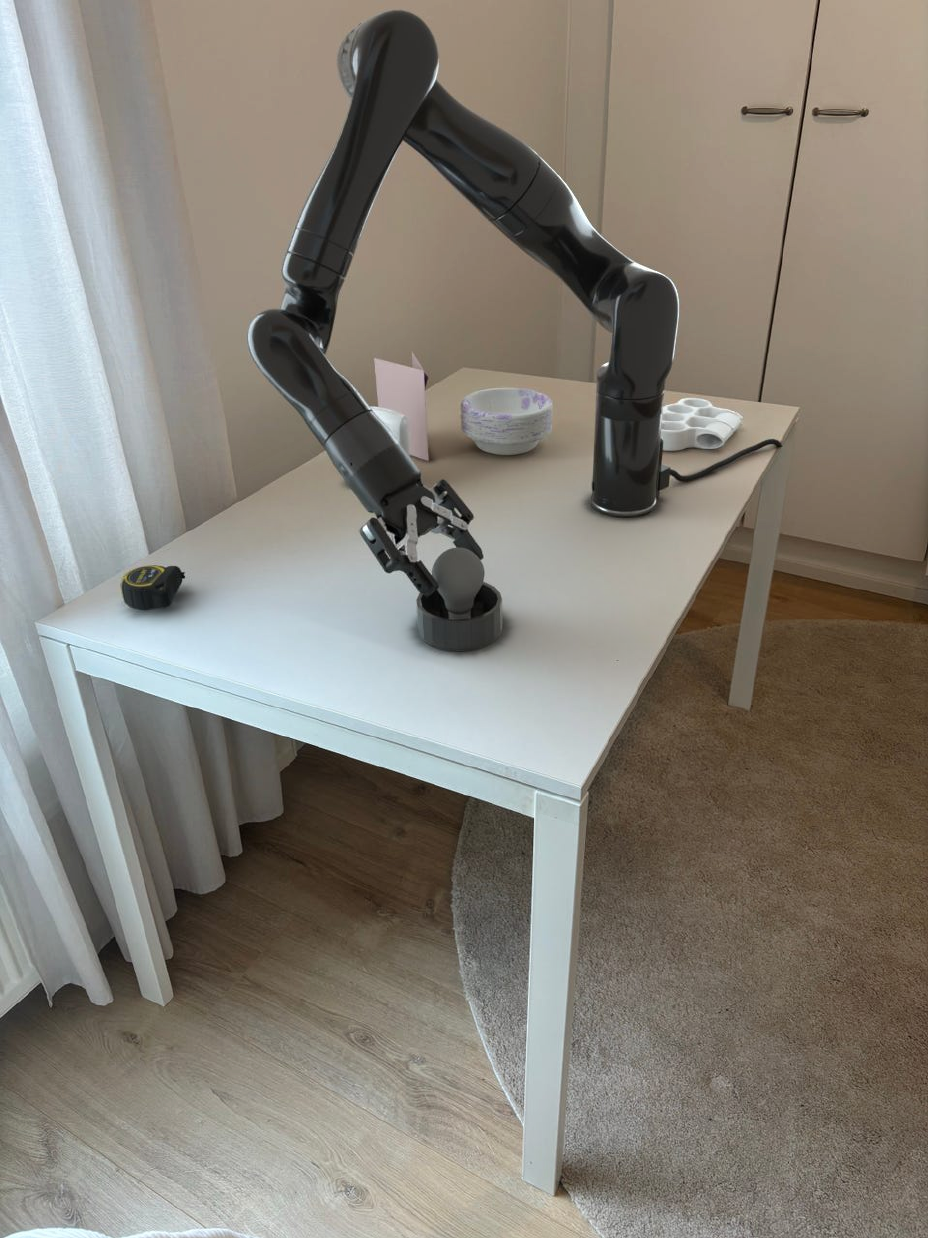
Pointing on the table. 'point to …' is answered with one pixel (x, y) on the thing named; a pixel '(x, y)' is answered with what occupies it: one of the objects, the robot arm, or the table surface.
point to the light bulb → (458, 580)
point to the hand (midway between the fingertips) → (456, 576)
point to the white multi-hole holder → (697, 425)
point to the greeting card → (405, 399)
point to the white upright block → (395, 425)
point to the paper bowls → (506, 419)
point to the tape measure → (151, 586)
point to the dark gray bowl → (460, 621)
